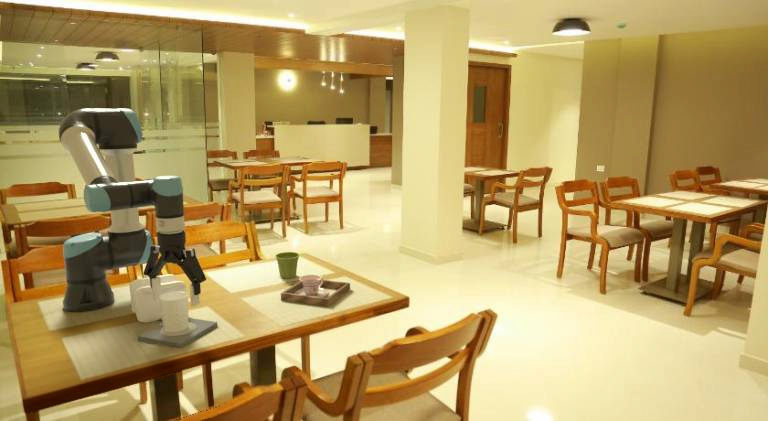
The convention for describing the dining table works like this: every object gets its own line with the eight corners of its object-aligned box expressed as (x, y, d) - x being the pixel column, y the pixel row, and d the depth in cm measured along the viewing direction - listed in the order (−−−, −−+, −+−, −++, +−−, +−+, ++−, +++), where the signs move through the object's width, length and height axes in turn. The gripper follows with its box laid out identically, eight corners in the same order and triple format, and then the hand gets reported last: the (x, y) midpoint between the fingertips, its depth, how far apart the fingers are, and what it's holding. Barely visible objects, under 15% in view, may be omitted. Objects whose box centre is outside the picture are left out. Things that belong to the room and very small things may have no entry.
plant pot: (305, 275, 211) (304, 254, 209) (289, 281, 203) (288, 259, 201) (287, 271, 216) (286, 250, 214) (270, 277, 208) (270, 256, 206)
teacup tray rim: (281, 300, 184) (280, 293, 183) (306, 284, 200) (305, 277, 200) (328, 306, 177) (328, 299, 177) (350, 289, 194) (350, 282, 194)
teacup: (304, 303, 181) (303, 285, 180) (288, 293, 191) (287, 277, 189) (334, 295, 188) (334, 279, 187) (317, 286, 198) (317, 270, 196)
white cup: (180, 334, 152) (178, 301, 151) (156, 332, 154) (153, 299, 152) (195, 323, 160) (193, 292, 158) (171, 322, 161) (169, 290, 160)
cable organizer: (181, 305, 179) (178, 272, 176) (188, 315, 170) (186, 280, 168) (132, 315, 171) (128, 280, 168) (137, 326, 162) (134, 289, 160)
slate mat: (138, 339, 152) (137, 335, 152) (177, 319, 167) (177, 315, 166) (180, 347, 147) (180, 343, 147) (217, 325, 162) (217, 321, 161)
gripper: (126, 229, 152) (132, 300, 156) (198, 237, 143) (203, 312, 148) (146, 224, 159) (151, 292, 163) (216, 231, 150) (220, 303, 155)
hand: (176, 302), depth 155 cm, fingers open, 13 cm apart
